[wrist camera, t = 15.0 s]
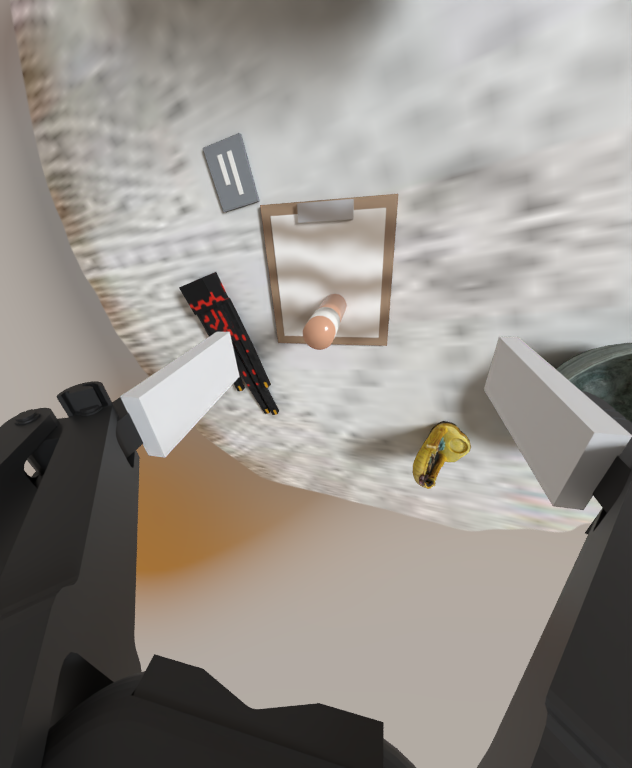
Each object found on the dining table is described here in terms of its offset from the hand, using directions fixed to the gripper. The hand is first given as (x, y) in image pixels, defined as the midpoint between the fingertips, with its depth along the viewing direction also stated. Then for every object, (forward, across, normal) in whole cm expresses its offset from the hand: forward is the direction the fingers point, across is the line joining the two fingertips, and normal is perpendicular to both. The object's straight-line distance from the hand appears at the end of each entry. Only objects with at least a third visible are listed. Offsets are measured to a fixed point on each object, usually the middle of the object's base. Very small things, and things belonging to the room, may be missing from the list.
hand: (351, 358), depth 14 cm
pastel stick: (+34, -6, -6) cm, 35 cm away
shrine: (+35, +14, -32) cm, 49 cm away
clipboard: (+35, -7, -2) cm, 35 cm away
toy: (+35, -26, -16) cm, 46 cm away
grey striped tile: (+35, -21, +13) cm, 43 cm away
